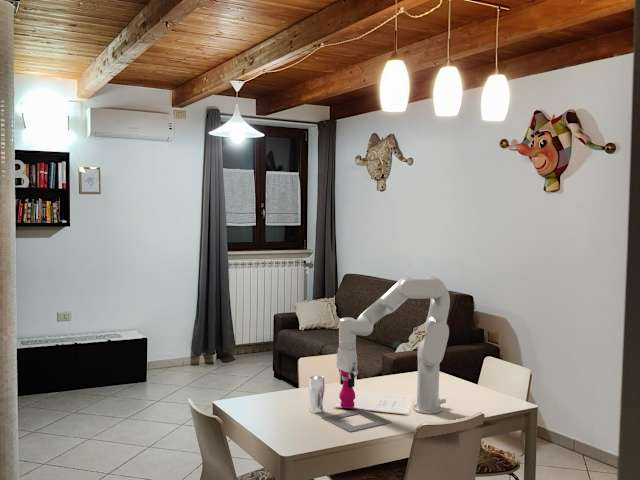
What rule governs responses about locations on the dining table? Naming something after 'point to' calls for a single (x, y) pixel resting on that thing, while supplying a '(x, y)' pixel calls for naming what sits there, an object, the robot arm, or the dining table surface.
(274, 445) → the dining table surface
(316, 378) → the beer glass
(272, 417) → the dining table surface
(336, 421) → the letter o mat
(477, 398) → the dining table surface
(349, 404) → the pepper mill
